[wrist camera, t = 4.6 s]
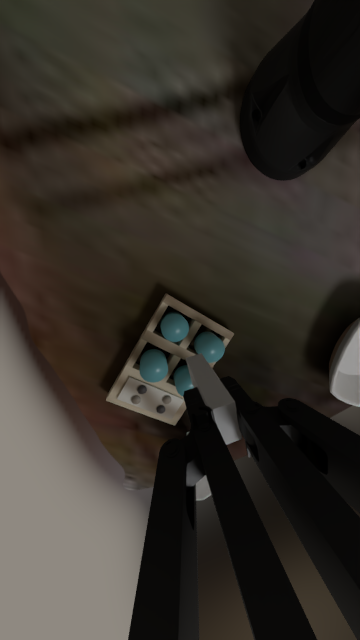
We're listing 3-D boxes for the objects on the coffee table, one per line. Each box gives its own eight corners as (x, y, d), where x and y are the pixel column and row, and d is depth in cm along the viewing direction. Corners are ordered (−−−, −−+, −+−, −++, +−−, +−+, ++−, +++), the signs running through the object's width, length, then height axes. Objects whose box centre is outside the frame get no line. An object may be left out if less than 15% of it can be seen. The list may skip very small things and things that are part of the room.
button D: (181, 360, 32) (185, 369, 29) (201, 370, 33) (207, 379, 30) (168, 381, 32) (171, 391, 29) (189, 390, 33) (193, 400, 31)
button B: (202, 327, 31) (208, 332, 28) (222, 338, 32) (229, 344, 29) (189, 348, 31) (193, 355, 29) (209, 358, 33) (215, 367, 30)
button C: (148, 344, 30) (148, 352, 27) (170, 355, 31) (173, 363, 28) (135, 366, 30) (134, 375, 28) (158, 376, 32) (159, 386, 29)
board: (165, 292, 30) (167, 294, 28) (229, 330, 34) (235, 334, 32) (108, 393, 33) (105, 402, 31) (173, 417, 37) (175, 427, 34)
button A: (168, 306, 31) (170, 310, 28) (189, 319, 32) (193, 323, 29) (155, 328, 31) (156, 334, 28) (177, 340, 32) (180, 346, 29)
